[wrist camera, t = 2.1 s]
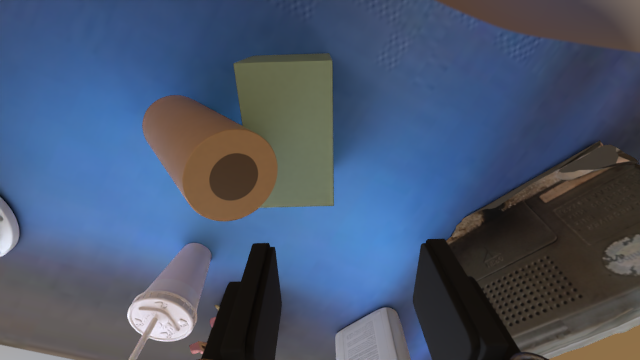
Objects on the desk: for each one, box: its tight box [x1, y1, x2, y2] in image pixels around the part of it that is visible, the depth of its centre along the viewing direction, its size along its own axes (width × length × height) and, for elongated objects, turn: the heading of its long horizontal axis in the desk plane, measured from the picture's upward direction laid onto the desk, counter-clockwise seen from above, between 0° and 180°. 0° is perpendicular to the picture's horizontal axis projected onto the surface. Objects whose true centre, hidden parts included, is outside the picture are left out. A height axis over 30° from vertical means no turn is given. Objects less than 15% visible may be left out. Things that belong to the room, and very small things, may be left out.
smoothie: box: [127, 243, 211, 360], centre depth 31 cm, size 6×6×14 cm
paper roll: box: [142, 95, 278, 221], centre depth 23 cm, size 13×6×15 cm, turn 92°
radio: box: [446, 141, 640, 359], centre depth 29 cm, size 23×9×15 cm, turn 127°
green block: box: [234, 53, 334, 208], centre depth 27 cm, size 7×12×7 cm, turn 2°
